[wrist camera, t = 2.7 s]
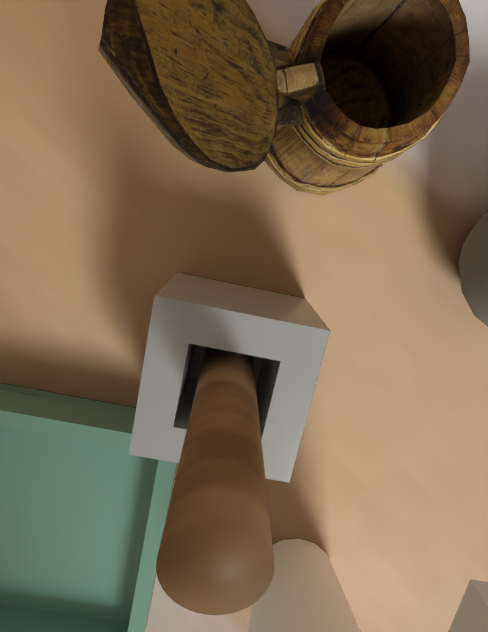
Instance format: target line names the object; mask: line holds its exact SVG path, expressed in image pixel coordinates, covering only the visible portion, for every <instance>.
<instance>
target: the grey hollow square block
mask: <svg viewBox="0 0 488 632" xmlns="http://www.w3.org/2000/svg"><path fill="white" fill-rule="evenodd" d="M329 334H330V330H329V328H328V327H327V326H326V324H325V323H324V322H323V321H322V319H321V318H320V317H319V315H318V314H317V313H316V311H315V310H314V309H313V308H312V306H311V305H310V304H309V302H308V301H307V300H306V299H305V298H300V297H295V296H290V295H285V294H280V293H276V292H271V291H266V290H261V289H256V288H251V287H246V286H241V285H236V284H232V283H227V282H222V281H217V280H212V279H207V278H202V277H197V276H192V275H188V274H183V273H178V272H177V273H176V274H175V275H174V276H173V277H172V278H171V279H170V280H169V281H168V282H167V283H166V284H165V285H164V286H163V287H162V288H161V289H160V290H159V291H158V292H157V293H156V294H155V295H154V300H153V306H152V313H151V319H150V325H149V331H148V338H147V344H146V350H145V356H144V362H143V369H142V375H141V381H140V387H139V393H138V400H137V406H136V412H135V418H134V425H133V431H132V437H131V443H130V449H129V455H134V456H140V457H146V458H151V459H157V460H163V461H169V462H174V463H179V461H180V456H181V452H182V448H183V444H184V439H185V435H186V431H187V426H188V422H189V418H190V413H191V409H192V405H193V400H194V396H195V392H196V387H197V383H198V379H199V375H200V370H201V366H202V362H203V357H204V353H205V349H206V347H210V348H215V349H220V350H225V351H231V352H236V353H241V354H246V355H251V356H253V364H254V374H255V384H256V393H257V403H258V412H259V422H260V431H261V441H262V450H263V460H264V470H265V478H266V479H271V480H277V481H283V482H288V483H289V482H290V479H291V475H292V471H293V467H294V464H295V460H296V456H297V453H298V449H299V445H300V441H301V438H302V434H303V430H304V427H305V423H306V419H307V416H308V412H309V408H310V404H311V401H312V397H313V393H314V390H315V386H316V382H317V378H318V375H319V371H320V367H321V364H322V360H323V356H324V352H325V349H326V345H327V341H328V338H329Z"/></svg>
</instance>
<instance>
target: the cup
mask: <svg viewBox="0 0 488 632" xmlns="http://www.w3.org/2000/svg"><path fill="white" fill-rule="evenodd" d="M459 271H460V280H461V289H462V293H463V295H464V297H465V299H466V301H467V302H468V304H469V306H470V308H471V310H472V312H473V314H474V315H475V316H476V317H477V318H478V319H479V320H481V321H482V322H483V323H484V324H486V325H487V326H488V211H487V212H486V213H485V214H484V215H483V216H481V217H480V219H479V220H478V221H477V223H476V224H475V225H474V227H473V228H472V230H471V232H470V233H469V235H468V236H467V238H466V240H465V241H464V243H463V245H462V249H461V253H460V257H459Z"/></svg>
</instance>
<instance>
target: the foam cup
mask: <svg viewBox="0 0 488 632" xmlns="http://www.w3.org/2000/svg"><path fill="white" fill-rule="evenodd" d="M272 546H273V556H274V575H273V579H272V581H271V584H270V586H269V587H268V589H267V591H266V592H265V593H264V595H263V596H262V597H261V598H260V599H259V600H257V601H256V602H255V603H253V604H252V605H251V613H250V622H249V632H361V631H360V629H359V627H358V624H357V622H356V620H355V617H354V615H353V613H352V610H351V608H350V606H349V604H348V601H347V599H346V597H345V594H344V592H343V590H342V587H341V585H340V583H339V580H338V578H337V576H336V573H335V571H334V569H333V566H332V564H331V562H330V560H329V559H328V556H327V554H326V553H325V552H324V551H323V550H322V549H321V548H320V547H319V546H318V545H317V544H315V543H312V542H309V541H306V540H302V539H289V540H281V541H279V542H277V543H275V544H273V545H272Z"/></svg>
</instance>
